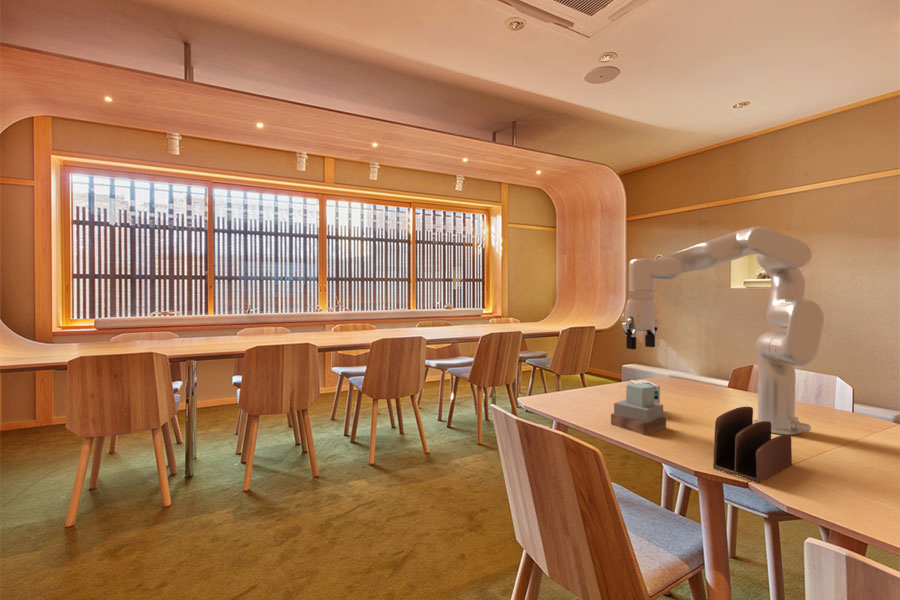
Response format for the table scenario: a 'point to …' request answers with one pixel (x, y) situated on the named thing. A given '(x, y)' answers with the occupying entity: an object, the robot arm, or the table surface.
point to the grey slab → (638, 411)
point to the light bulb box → (656, 387)
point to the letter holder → (749, 446)
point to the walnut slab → (638, 424)
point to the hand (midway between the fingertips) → (640, 347)
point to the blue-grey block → (640, 395)
